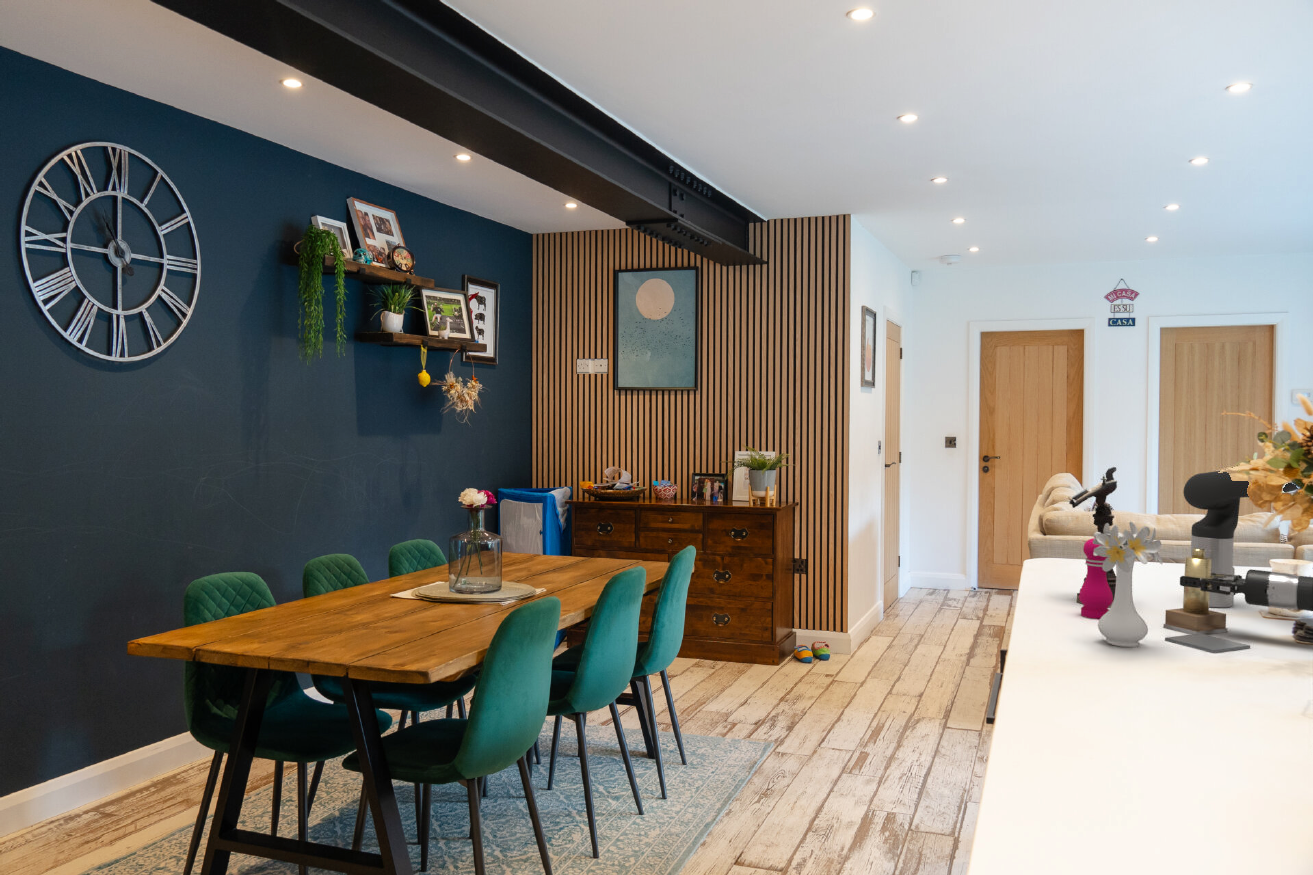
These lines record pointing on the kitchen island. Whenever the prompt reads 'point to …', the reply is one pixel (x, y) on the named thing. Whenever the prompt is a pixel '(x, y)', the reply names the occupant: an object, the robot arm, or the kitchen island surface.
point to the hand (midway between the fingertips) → (1183, 579)
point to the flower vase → (1124, 581)
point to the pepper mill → (1095, 584)
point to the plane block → (1195, 622)
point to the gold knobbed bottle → (1194, 597)
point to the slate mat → (1207, 643)
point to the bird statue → (1100, 514)
